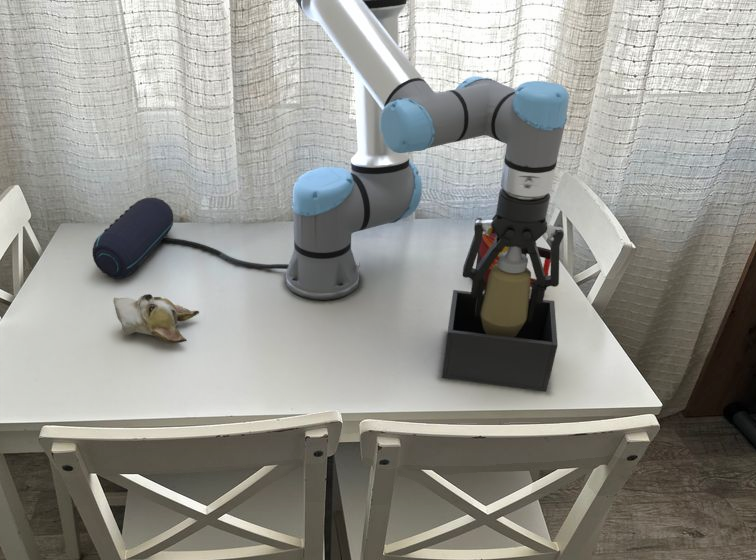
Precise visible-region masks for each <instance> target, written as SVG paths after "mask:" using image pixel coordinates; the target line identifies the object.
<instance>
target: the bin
mask: <svg viewBox="0 0 756 560" xmlns="http://www.w3.org/2000/svg"><path fill="white" fill-rule="evenodd" d="M483 296H484V292H483ZM483 296H482V299H483ZM529 300H530V297H529ZM476 301H477V297H472V296H471V291H467V290H458V289H453V290H452V297H451V304H450V312H449V319H448V326H447V334H446V341H445V349H444V356H443V357H444V358H443V365H442V366H443V367H442V372H441V373H442V374H441V378H442V379H448V380H455V381H456V380H457V381H463V382H470V383H476V384H486V385H493V386H500V387H507V388H516V389H523V390H529V391H530V390H532V391H538V392H545V393H547V390H548V387H549V383H550V379H551V374H552V371H553V366H554V363H555V359H556V355H557V350H558V347H559V346H558V344H559V343H558V331H557V318H556V305H555V300H548V299H543V302H542V303H541V304H535V308H534V313H533V318H532V323H531V322H527V320H526V321H525V323H524V325H523V326H522V328H521V329H520V331H519V332H518V334H517V335H516V336H515V337H506V336H497V335H489V334H486V333H485V331H484V329H483V325H482V321H481V316H480V315H479V317H478V316H475V308H476ZM481 303H482V302H481Z"/></svg>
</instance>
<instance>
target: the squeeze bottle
mask: <svg viewBox="0 0 756 560" xmlns="http://www.w3.org/2000/svg"><path fill="white" fill-rule="evenodd" d="M528 263H529V258H528V256H527V255H526V256H525V255H524V254H522V250H521V248H519V247H509V248H508V250H507V252H503V253H501V254H500V255H499V258H498V264H495V265H494V266H493V267H492V268H491V270H490V274H489V278H488V281H487V285H486V288H485V290H484V291H483V293H484V296H483V299H482V303H481V309H480V316H481V321H482V325H483V329H484V331H485V333H486V334H489V335H497V336H506V337H515V336H516V335H517V334H518V332H519V331H520V329H521V328H522V326H523V325H524V323H525V321H526V320H527V318H528V307H529V298H530V295H531V287H530V282H531V278H532V272H531V271H530V269H529V268H528Z"/></svg>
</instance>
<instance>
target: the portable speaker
mask: <svg viewBox="0 0 756 560" xmlns="http://www.w3.org/2000/svg"><path fill="white" fill-rule="evenodd" d="M173 212H174V211H173V210H172V208H171V206H170V205H169V204H168V203H167V202H165V200H163V199H161V198H159V197H144V198H142V199H139V200H137V201H136V202H135V203H133V204H131V205H130V206H129V208H128V209H126V210H125V211H124V212H123V213H122V214H120V215H119V217H118V218H116V219H115V220H114V222H113V223H110V224H109V227H108V228H105V229H104V230H103V232H102V233H101V234H100V235H99V236H98V237H96V239H95V241H94V242H93V246H92V258H93V262H94V263H95V265H96V267H97V268H98V269H99V270H100V271H101V272H102V273H103V274H104V275H106V276H108V277H109V278H113V279H123V278H125V277H127V276H129V275H130V274H132V273H134V271H135V270H136V269H137V268H138V267H139V266H140V265H141V264H142V263H143V262H144V261H145V259H146V258H147V257H148V256H149V255H150V254H151V253H152V252H153V251H154V250H155V249H156V247H157V246H158V245H159V244H160V243H162V242H161V241H162V240H163V239H164V238H166V237H167V236H168V234H169V233H170V231H171V230H172V227H173V226H174V213H173Z"/></svg>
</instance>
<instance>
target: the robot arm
mask: <svg viewBox="0 0 756 560" xmlns="http://www.w3.org/2000/svg"><path fill="white" fill-rule="evenodd" d="M295 1H296V3H297V5H298V7H299V8H300V9H301V11H302V12H303V14H304V15H305V16H306V17H307V19H309V20H311V21H314V22H318V23H319V25H320V27H321V28H322V29H323V31H324V32H325V33H326V34H327V36H328V37H329V38H330V40H331V41H332V43H333V44H334V46H335V47H336V49H337V50H338V51H339V52H340V54H341V55H342V57H343V58H344V59H345V61H346V62H347V64H348V65H349V66H350V68H351V69H352V70H353V80H354V81H353V83H354V84H353V85H354V100H355V101H354V102H355V103H354V104H355V120H356V121H355V122H356V123H355V125H356V140H357V141H356V142H357V143H356V144H357V151H356V153H355V154H354V155H353V156H352V157H351V159H350V171H351V172H350V171H349V170H348V169H346V168H344V167H340V166H331V167H328V166H321V167H316V168H314V169H311V170H309V171H307V172H305V173H303V174H302V175H300V176H299V177H298V178H297V180H296V181H295V183H294V185H293V189H292V200H291V207H292V219H293V221H292V223H293V224H292V225H293V251H292V254H291V256H290V259H289V263H273V264H272V263H270V264H269V263H267V264H266V263H257V262H249V261H246V260H245V261H244V260H240V259H237V258H234V257H231V256H230V255H227V254H226V253H224V252H222V251H220V250H218V249H216V248H213V247H211V246H209V245H205V244H203V243H200V242H196V241H191V240H186V239H180V238H172V237H165V238H164V239H163V240H162V241H161V242H160V243H172V244H180V245H185V246H191V247H195V248H199V249H201V250H204V251H207V252H210V253H212V254H214V255H216V256H219V257H220V258H222V259H224V260H226V261H227V262H229V263H232V264H236V265H239V266H242V267H248V268H255V269H264V270H275V269H276V270H277V269H278V270H286V272H285V280H286V281H285V283H286V286H287V288H288V289H289V290H290V291H291V292H292V293H294V294H295V295H297V296H298V297H302V298H304V299H309V300H314V301H315V300H316V301H328V300H329V301H330V300H337V299H340V298H343V297H346V296H348V295H349V294H351V293H353V292H354V291H355V290H356V289H357V288H358V286H359V281H360V272H359V269H360V267H361V261H359V262H358V265H357V263H356V259H355V256H354V254H353V250H352V234H354V233H357V232H360V231H364V230H368V229H371V228H377V227H379V226H383V225H387V224H394V223H395V224H396V223H398V222H399V221H401V220H403V219H404V220H405V219H406V218H408V217H410V216H411V215H412V214H413V213H414V212H416V210H417V209H418V207H419V206H420V202H421V199H422V191H423V183H422V178H421V175H419V173H420V172H419V169H418V168H417V166H416V165H415V163H413V162H412V161H410V154H409V153H414V152H421V151H425V150H426V149H430V148H434V147H439V146H443V145H447V144H448V145H449V144H451V143H458V142H462V141H466V140H470V139H474V138H479V137H483V136H485V137H490V138H491V139H494V140H495V141H498V142H501V143H503V144H506V146H505V154H504V160H503V167H502V172H501V180H500V189H499V192H498V200H497V205H496V211H495V214H494V216H493V217H492V219H484V220H483V219H482V218H481V217H476V219H474V226H473V227H474V228H473V230H474V234H473V236H472V241H471V243H470V247H469V249H468V252H467V255H466V258H465V262H464V264H463V266H462V268H463V269H462V277H463V278H466V279H467V278H468V279H471V281H472V283H471V289H470V290H471V291H470V292H471V296H472V297H477V301H476V308H475V316H478V317H479V315H480V309H481V302H482V296H483V293H484V282H485V276H484V274H485V273H486V272H487V270H488V269H489V267H490V266H491V264H492V263H493V262H494V260H495V259H496V257H497V256H498V254H499V253H500V252H501V251H502V250H503V249H504V247H505V246H506V247H519V248H525V249H526V247H527V250H528V254H527V255H529V259H530V262H531V265H532V269H533V272H534V275H535V279H537V281H533V285H532V287H531V289H530V295H529V298H530V300H529V307H528V318H527V322H531V323H532V318H533V313H534V308H535V304H541V303H542V302H543V300H544V299H545V293H546V291H547V288H549V287H553V288H557V287H558V286H559V284H560V246H561V244H562V241H563V239H564V236H565V233H564V226H563V225H561V224H557V225H556V226H555V225H551V224H548V222H547V214H548V210H549V205H550V200H551V194H550V193H551V192H552V189H553V184H554V178H555V174H556V168H557V164H558V157H559V153H560V148H561V143H562V139H563V136H564V135H563V134H564V130H565V127H566V124H567V120H568V115H567V114H568V108H569V98H570V96H569V95H570V94H569V91H568V89H567V88H565V86H563V85H561V84H558V83H555V82H548V81H545V80H531V81H525V82H522V83H521V84H519V85H518V86H517V87H516V88H515V89H514V88H513V87H510V86H507V85H506V84H503V83H500V82H499V81H497V80H495V79H492V78H489V77H484V76H483V77H482V76H470V77H467V78H466V79H464V81H462V82H461V83H460V84H458V85H457V86H456V87H455V88H454V89H450V90H445V91H439V92H438V91H437V92H435V90H433V88H432V87H431V86H430V85H429V84H428V83H427V82H426V80H425V79H424V78H423V77H422V75H421V74H420V72H419V71H418V70H417V69H416V67H415V66H414V65H413V63H412V62H411V61H410V60H409V59H408V57H407V56H406V55H405V53H404V52H403V50H402V49H401V48H400V39H399V36H400V35H399V33H400V32H399V16H400V14H401V13H402V11H403V10H404V9H405V8H406V6H407V0H295ZM490 228H492V229H493V230H494V232H495V233H496V235H497V237H496V238H495V240H494V242H493V244H492V245H491V247H490V248H489V250H488V251H487V253H486V254H485V255H484V257H483V258H482V260H481V261H480V263H479V264H478V266H477V267H476V266H475V267H474V265H475V262H476V260H477V255H478V251H479V248H480V245H481V242H482V237H483V235H485V234H487V232H488V230H489V229H490ZM544 234H547V239H548V241H550V250H551V262H550V268H549V271H550V275H549V274H548V276H545V273H544V269H543V266H544V265H543V263H542V259H541V257H540V256H539V252H538V249H537V247H538V245H537V241H538V240H539V239H540V238H541V237H542V236H544Z"/></svg>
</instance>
